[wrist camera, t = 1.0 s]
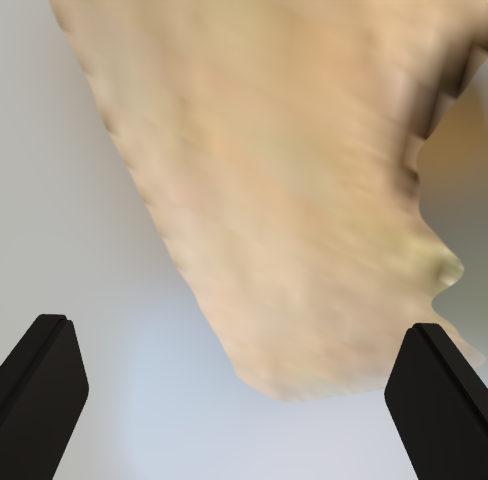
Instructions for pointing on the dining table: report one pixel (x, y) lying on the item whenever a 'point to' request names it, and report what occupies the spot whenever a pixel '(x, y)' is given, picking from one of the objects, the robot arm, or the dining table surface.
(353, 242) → the dining table surface
